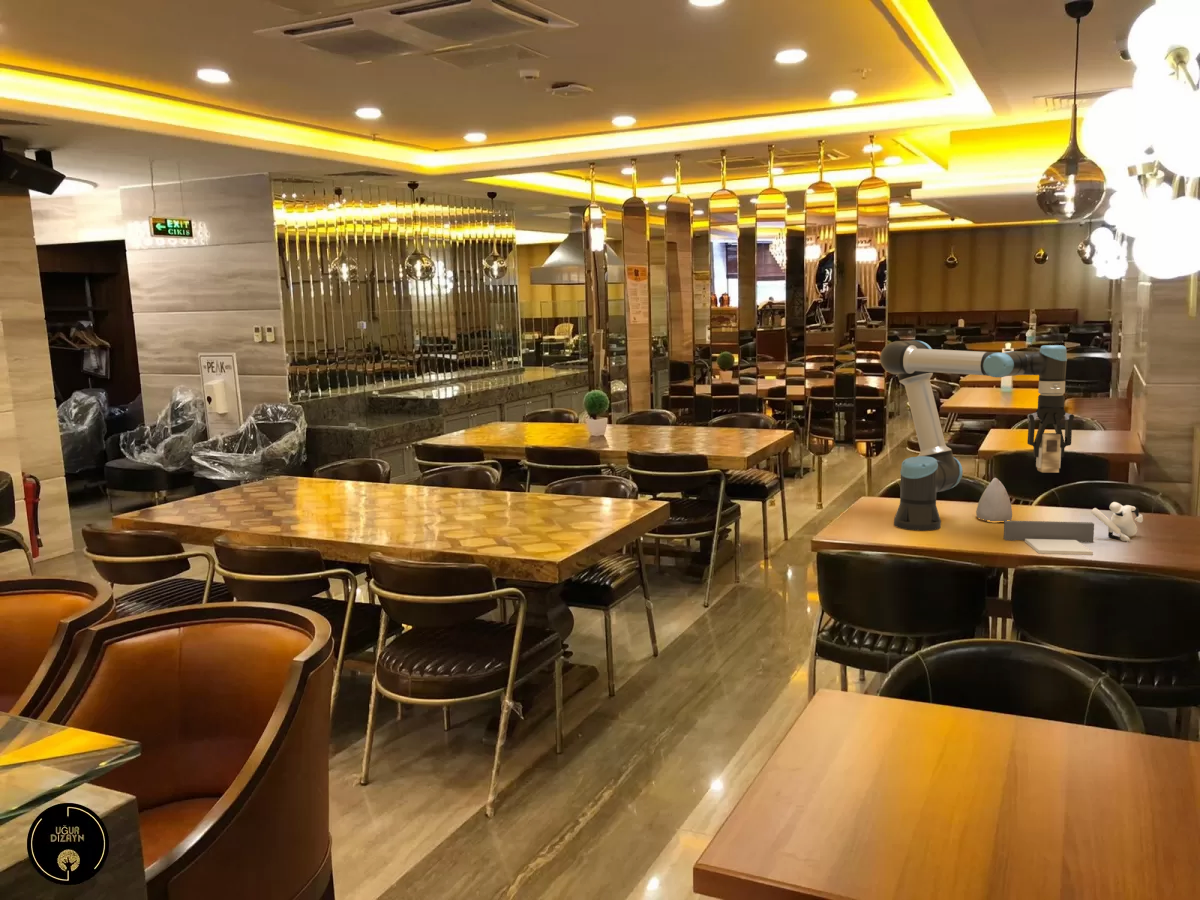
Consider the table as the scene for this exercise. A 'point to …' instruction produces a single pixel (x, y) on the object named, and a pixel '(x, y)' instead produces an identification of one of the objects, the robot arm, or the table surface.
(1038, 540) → the mat
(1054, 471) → the letter block
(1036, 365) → the robot arm
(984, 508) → the sculpture
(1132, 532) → the cricket player figurine
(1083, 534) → the grey plank
